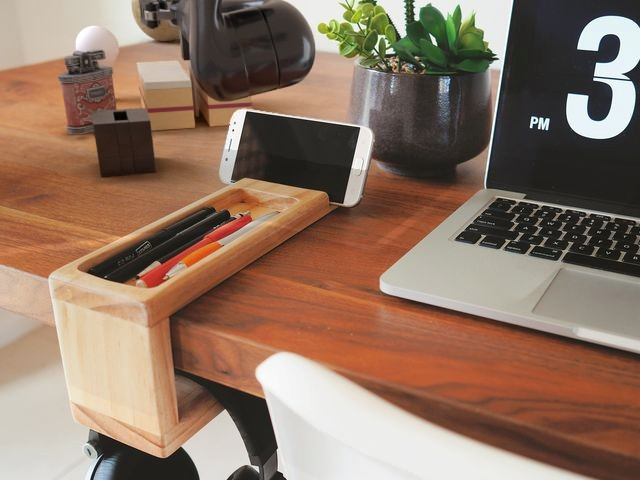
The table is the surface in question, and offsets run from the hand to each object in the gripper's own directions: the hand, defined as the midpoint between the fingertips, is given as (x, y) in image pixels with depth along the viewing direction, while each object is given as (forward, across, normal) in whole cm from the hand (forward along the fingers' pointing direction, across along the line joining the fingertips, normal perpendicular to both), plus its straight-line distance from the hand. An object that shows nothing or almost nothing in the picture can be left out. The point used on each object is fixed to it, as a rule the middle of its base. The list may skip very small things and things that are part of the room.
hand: (196, 3), depth 89 cm
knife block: (-10, +11, +17) cm, 22 cm away
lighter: (+8, +14, +17) cm, 23 cm away
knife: (+11, 0, +17) cm, 20 cm away
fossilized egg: (+76, -3, +17) cm, 78 cm away
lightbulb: (+23, +12, +17) cm, 31 cm away
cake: (+11, 0, +17) cm, 20 cm away
